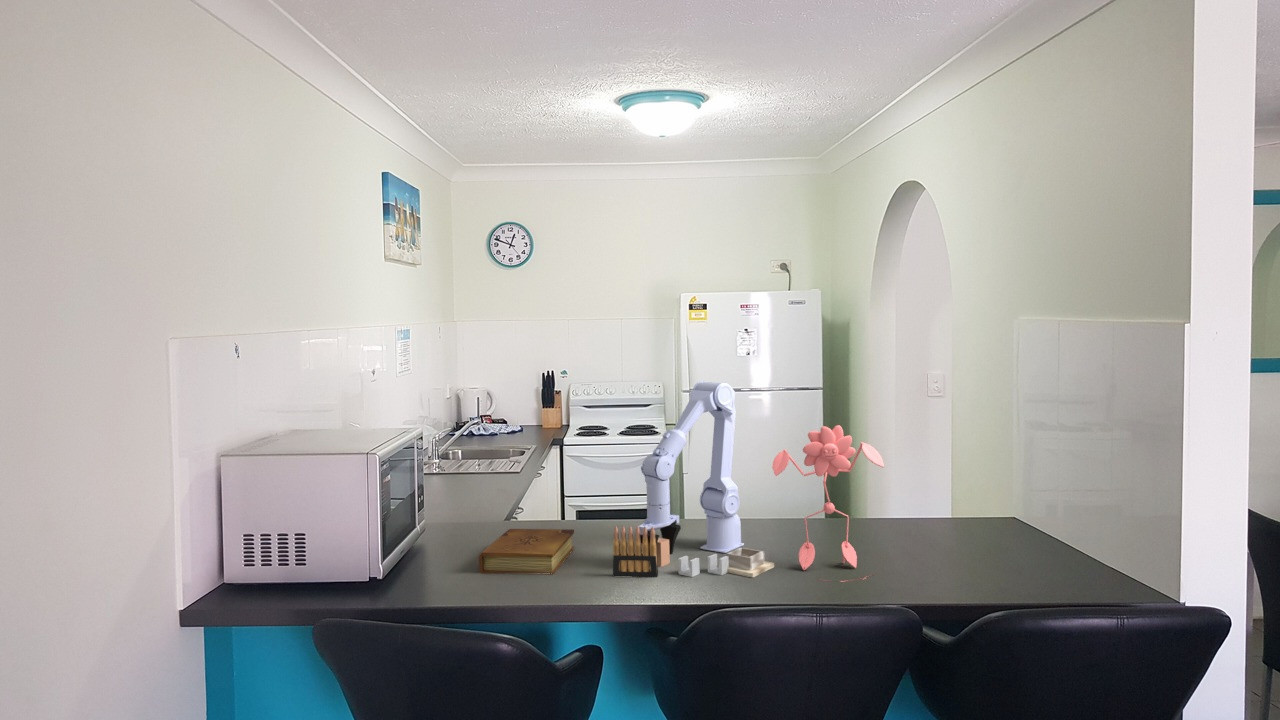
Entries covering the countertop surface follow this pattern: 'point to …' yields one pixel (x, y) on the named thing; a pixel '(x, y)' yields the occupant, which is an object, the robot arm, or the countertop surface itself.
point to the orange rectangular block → (663, 552)
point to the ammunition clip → (634, 554)
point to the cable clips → (694, 569)
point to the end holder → (747, 562)
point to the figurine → (831, 458)
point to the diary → (527, 551)
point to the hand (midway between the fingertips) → (659, 557)
